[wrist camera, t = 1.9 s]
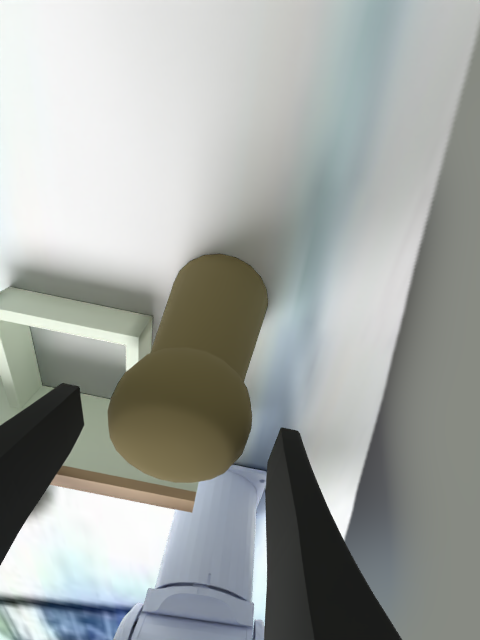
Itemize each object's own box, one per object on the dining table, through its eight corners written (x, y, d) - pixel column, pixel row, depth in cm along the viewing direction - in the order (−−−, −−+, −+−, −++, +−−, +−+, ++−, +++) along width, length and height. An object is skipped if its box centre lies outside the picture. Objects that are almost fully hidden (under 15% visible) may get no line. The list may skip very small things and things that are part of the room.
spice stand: (210, 430, 26) (192, 512, 20) (-27, 382, 26) (-112, 452, 20) (229, 332, 21) (212, 407, 15) (-70, 270, 20) (-201, 323, 15)
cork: (208, 232, 17) (129, 351, 8) (288, 296, 19) (302, 458, 9) (154, 304, 20) (49, 455, 11) (228, 354, 22) (193, 525, 12)
